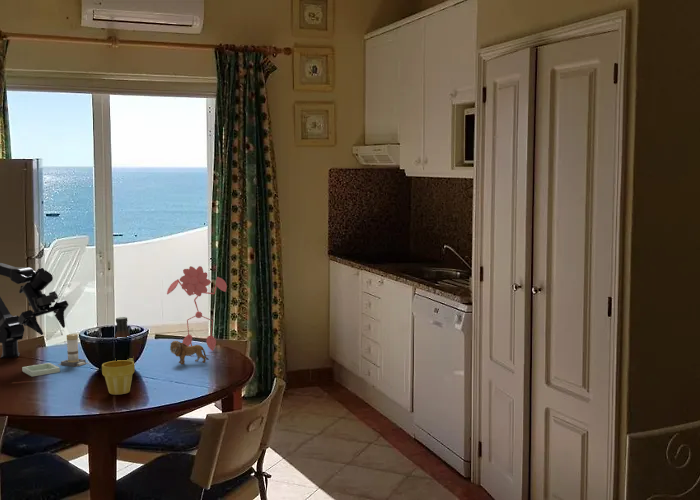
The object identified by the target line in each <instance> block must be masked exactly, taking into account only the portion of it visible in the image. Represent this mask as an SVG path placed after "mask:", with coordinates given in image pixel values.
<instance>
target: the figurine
mask: <svg viewBox="0 0 700 500" xmlns="http://www.w3.org/2000/svg"><path fill="white" fill-rule="evenodd" d="M182 271H183V274H184V275H183V276H182V275H181V277H180V278H179V279H176V280H174V281H173V282H172V283H171V284H170V285H169V287H168V288H167V291H166V295H169V294H171V293H172V292H173V291H174V290H175V289H176V288H177V287H178V284H179V285H180V287H181V289H182V290H184V291H185V293H186V294H187V295H188V297H190V296H193V295H195V296H196V297H195V298H194V299H193V303H194V304H195V308H196V310H197V311H196V312H195V315H193V316H192V317H190V318H188V319H186V325H187V333H188V334H187V335H186V336H185V337H184V338H183V339H182V342H181V343H184V344H185V345H186V346H193V343H192V341H193V335H192V334H190V331H189V330H190V329H189V320H191V319H193V318H197V319H201V318H204V319H206V320H209V321H211V328H210V334H209V335H208V336H207V337H206V345H207V348H208V349H210V350H211V351H212V352H213V351H214V350H215V348H216V346H217V340H216V339H215V337H214V336H213V335H212V333H213V325H214V324H213V323H214V320H213V319H211V318H208V317H205V316H203V313H202V312H201V311H199V308H198V304H197V302H196V300H197V299H198V297H201V296H202V294H208V295H215V294H216V290H217V288H218V289H219V290H221V291H222V292H225V293H227V288H228V286H227V283H226V281H225V279H223V278H222V277H219V276H217V277H216V279H215V285H214V286H215V287H214V290H213V292H208V288H207V286H209V285H210V284H211V283H212V282H211V280H210V279H209V278H208V272H206V271H205V272H204V269H203V267H202V265H199V266H197V268H195V267H194V266H189V268H184V269H183V270H182ZM212 355H216V353H215V354H213V353H212ZM208 356H209V355H208V354H206V357H208Z"/></svg>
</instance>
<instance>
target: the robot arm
mask: <svg viewBox="0 0 700 500" xmlns="http://www.w3.org/2000/svg"><path fill="white" fill-rule="evenodd" d="M0 275H1V276H4V277H6V278H9V279H10V280H11V281H12V282H13V283H15V284H17V285H20V289H19V291H18V292H19V294H24V295H25V297H26V298H27V301H28V306H29V307H31V309H32V310H31V309H29V310H26V311H22V312H21V314H20V315H12V314H11V312H10V311H9V309H8V308H7V305H6V304H5V302H4V300H3V299H2V297H1V296H0V344H1V346H2V347H1V348H2V353H1V356H0V358H1V359H9V358H19V356H20V352H19V343H18V342H19V340H23V338H24V335H25V333H24V332H25V326H26V327H28V328H30V329H32V330H34V331H35V332H37V333H38V334H39V335H41V336H43V335H44V332H43V330H42V327H41V326H40V324H39V322H38V321H37V317H40V316H43V315H46V314H49V313H52V312H53V313H54V314H55V315H54V316H55V318H56V320H57V321H58V323H59V325H60V326H61V327H62V328H63V329H65V327H66V323H65V321H66V320H65V311H66V310H67V308H68V306H69V302H68V301H67V300H65V299H63V300H59V301H56V300H58V299H59V296H58V294H57V292H56V291H55V290H53V291H51V292H49V293H48V295H46V293H43V291H44V289H46V288H47V286H48V285H49V284H51V283H52V282H53V279H54V277H53V275H52V273H50V272H49V271H48V270H45V269H44V268H43V267H40V268H37V270H36V271H35V270H34V269H33V268H32V267H29V266H28V267H26V266H24V267H23V266H21V267H19V266H18V267H17V266H14V265H9V264H7V263H2V262H0ZM22 284H24V285H22ZM53 303H54V305H53V306H52V304H53Z"/></svg>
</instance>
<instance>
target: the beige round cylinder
mask: <svg viewBox="0 0 700 500" xmlns="http://www.w3.org/2000/svg"><path fill="white" fill-rule="evenodd" d="M78 338H79V334H77V333H70V334H67V335H66V347H67V348H66V349H67V360H68V362H72V363H74V362H77V361H79V359H80V357H79V341H78Z"/></svg>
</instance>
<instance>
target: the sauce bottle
mask: <svg viewBox="0 0 700 500" xmlns="http://www.w3.org/2000/svg"><path fill="white" fill-rule="evenodd" d="M115 322H116V333H115V335H114V338H117V337H127V336H131V333H130V332H129V328H128V317H126V316H122V317H121V316H120V317H116V318H115ZM131 337H132V336H131ZM114 338H113V339H114ZM127 360H129V361H133V362H134V363H135V361H134V357H133V358H129V359H127Z"/></svg>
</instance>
